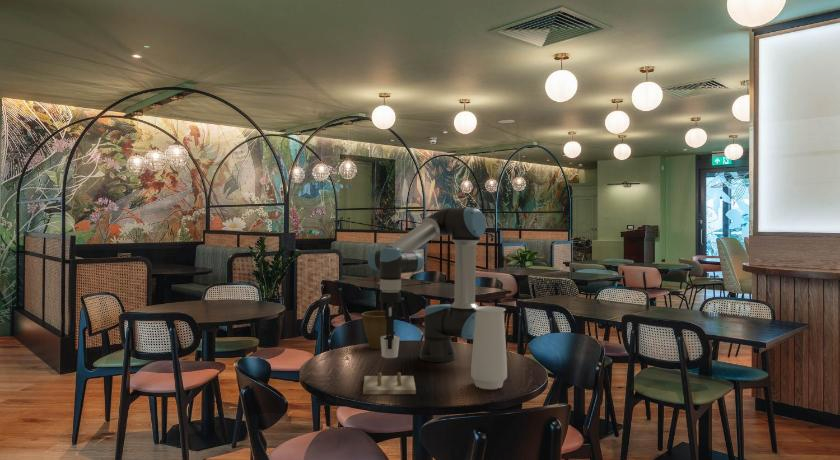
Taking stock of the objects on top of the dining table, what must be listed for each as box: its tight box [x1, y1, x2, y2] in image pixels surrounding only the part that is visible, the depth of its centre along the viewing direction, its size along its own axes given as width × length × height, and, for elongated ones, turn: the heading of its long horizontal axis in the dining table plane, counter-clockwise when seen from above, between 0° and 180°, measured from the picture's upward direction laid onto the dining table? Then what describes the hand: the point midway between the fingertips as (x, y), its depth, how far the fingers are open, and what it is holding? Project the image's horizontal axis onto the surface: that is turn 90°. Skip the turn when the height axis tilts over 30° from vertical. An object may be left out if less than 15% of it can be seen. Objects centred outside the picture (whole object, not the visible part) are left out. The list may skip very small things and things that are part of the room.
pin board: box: [362, 372, 417, 395], centre depth 212 cm, size 18×18×4 cm
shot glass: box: [380, 334, 400, 359], centre depth 212 cm, size 7×7×7 cm
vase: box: [470, 305, 508, 390], centre depth 215 cm, size 13×13×28 cm
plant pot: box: [361, 310, 386, 350], centre depth 276 cm, size 15×15×16 cm
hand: (389, 355), depth 212 cm, fingers closed on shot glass, 7 cm apart
